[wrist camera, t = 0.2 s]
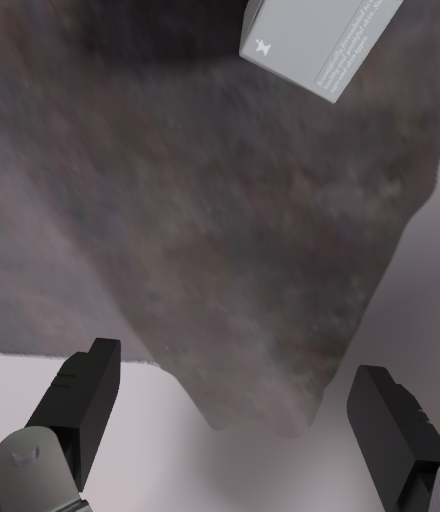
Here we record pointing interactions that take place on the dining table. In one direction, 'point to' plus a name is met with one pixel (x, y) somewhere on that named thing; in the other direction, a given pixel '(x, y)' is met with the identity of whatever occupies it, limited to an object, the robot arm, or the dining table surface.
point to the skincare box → (313, 39)
